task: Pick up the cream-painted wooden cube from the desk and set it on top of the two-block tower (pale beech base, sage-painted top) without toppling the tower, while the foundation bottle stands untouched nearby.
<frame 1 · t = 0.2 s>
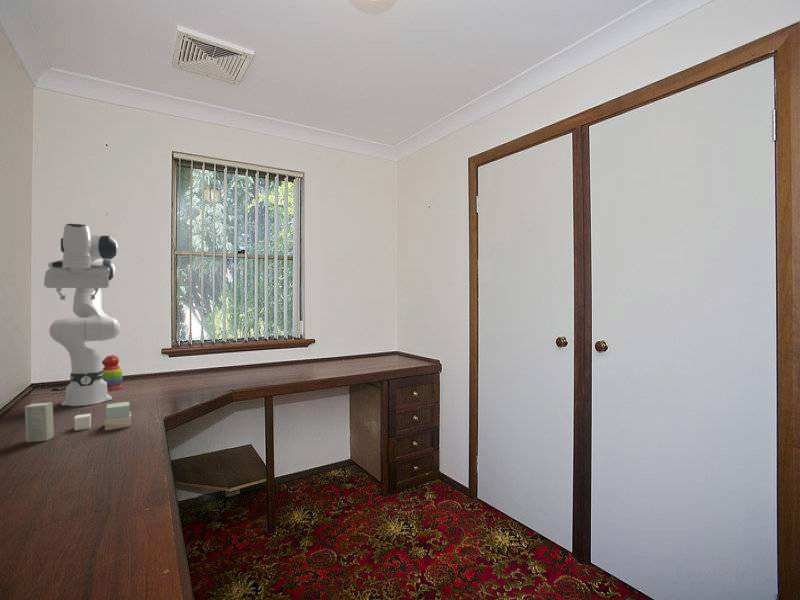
hand: (78, 299, 164), 47 cm above the table, fingers open, 8 cm apart
tower top: (118, 415, 157), point 4 cm above the table
skincare box: (40, 440, 142), on the table
cream block: (82, 428, 154), on the table
tower base: (118, 426, 157), on the table
stacking bear: (111, 389, 219), on the table
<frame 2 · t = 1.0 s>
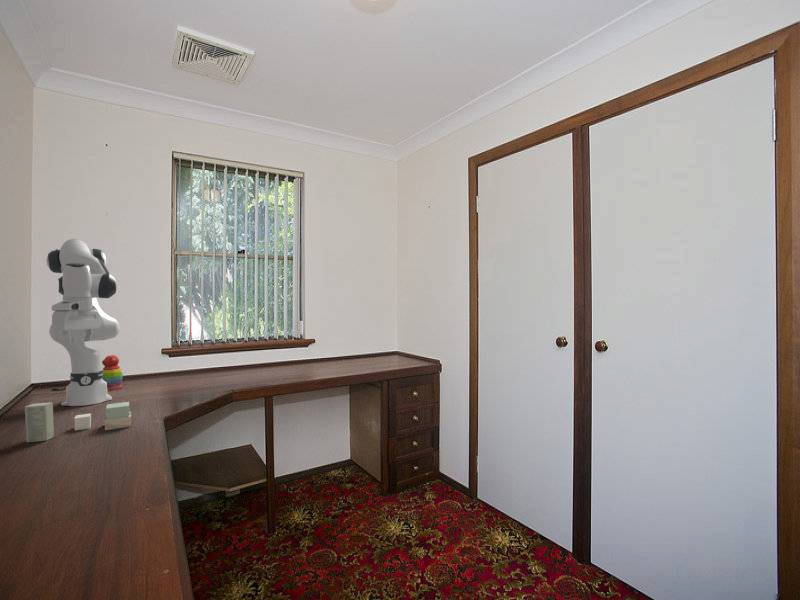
hand: (78, 342, 158), 31 cm above the table, fingers open, 8 cm apart
nothing on the table moved.
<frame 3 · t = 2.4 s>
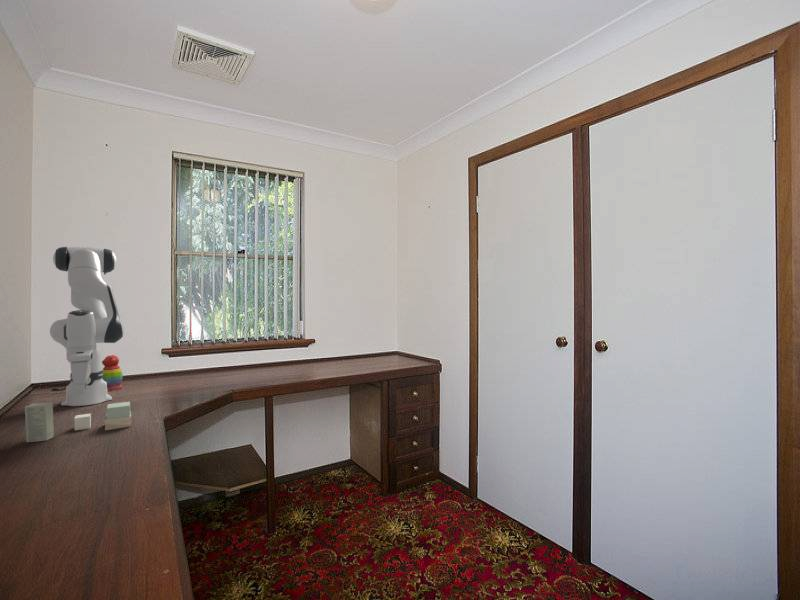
hand: (82, 391, 154), 13 cm above the table, fingers open, 8 cm apart
tower top: (118, 415, 157), point 4 cm above the table, touching tower base
tower base: (118, 426, 157), on the table, touching tower top
everything else where it was.
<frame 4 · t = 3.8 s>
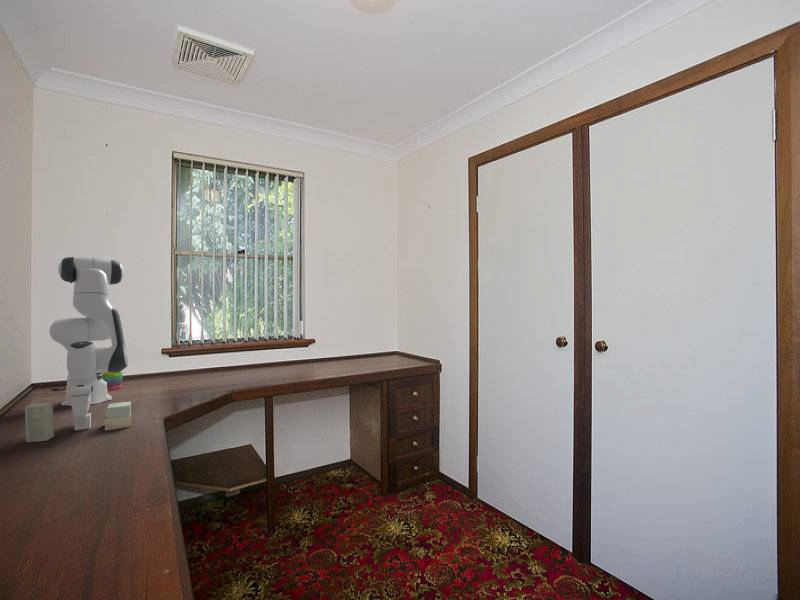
hand: (82, 423, 154), 2 cm above the table, fingers closed on cream block, 4 cm apart
cream block: (82, 427, 154), on the table, touching gripper
everything else where it was.
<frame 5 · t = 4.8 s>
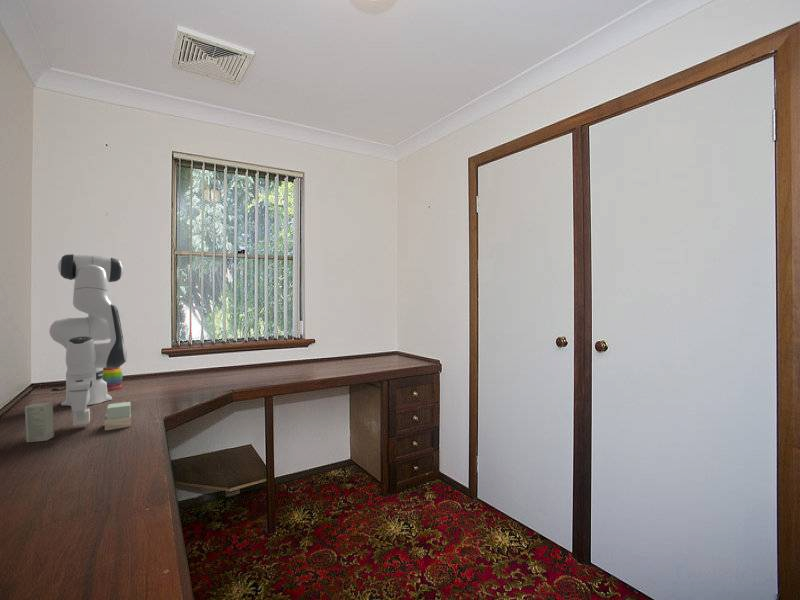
hand: (81, 418, 154), 3 cm above the table, fingers closed on cream block, 4 cm apart
cream block: (81, 422, 154), point 2 cm above the table, touching gripper
everything else where it was.
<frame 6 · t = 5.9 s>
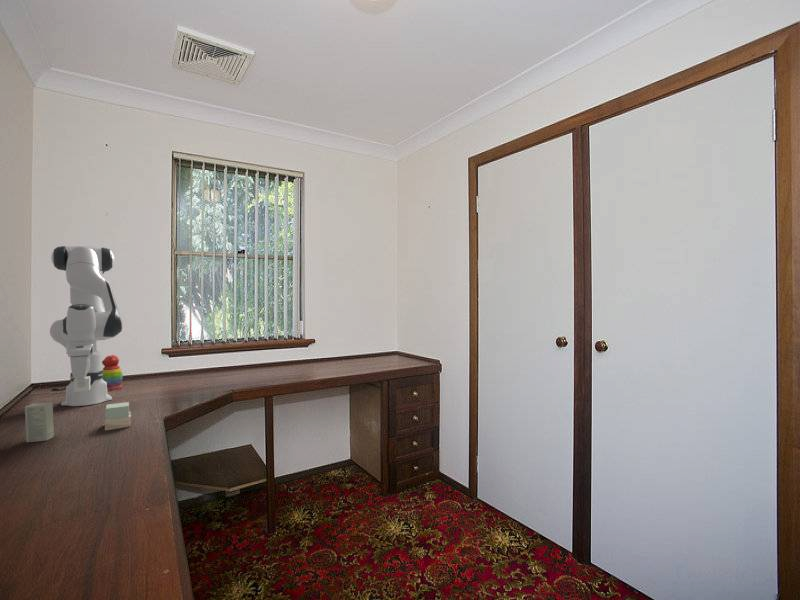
hand: (82, 385, 154), 16 cm above the table, fingers closed on cream block, 4 cm apart
cream block: (82, 390, 154), point 14 cm above the table, touching gripper
everything else where it was.
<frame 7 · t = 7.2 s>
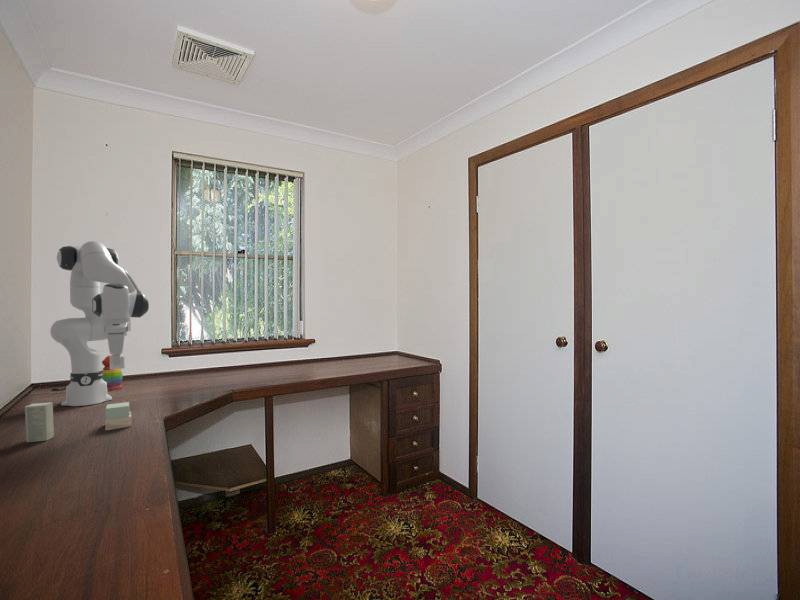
hand: (117, 363, 157), 23 cm above the table, fingers closed on cream block, 4 cm apart
tower top: (118, 415, 156), point 4 cm above the table
cream block: (117, 368, 157), point 22 cm above the table, touching gripper
tower base: (118, 426, 157), on the table
everything else where it was.
when the fingers open (11 cm above the table, at t = 9.9 s): cream block drops 1 cm, point 8 cm above the table.
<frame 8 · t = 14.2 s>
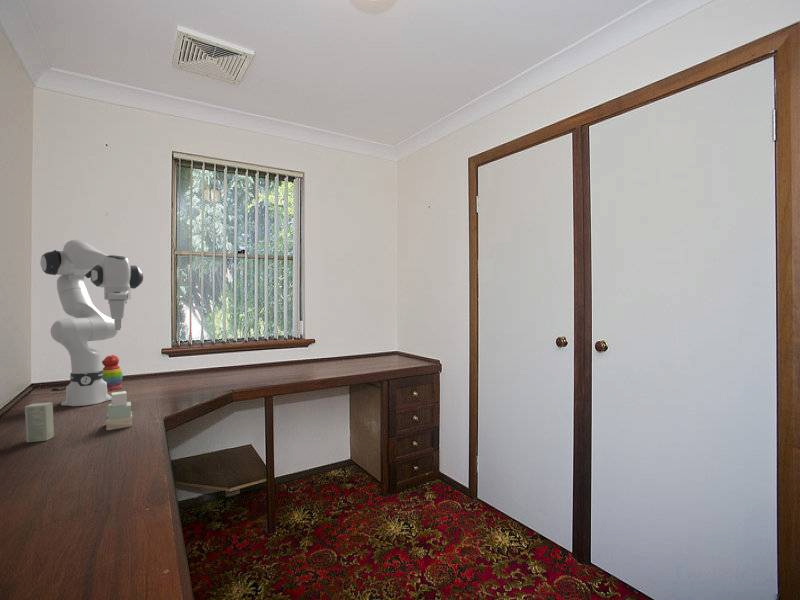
hand: (118, 329, 169), 35 cm above the table, fingers open, 8 cm apart
tower top: (119, 415, 157), point 4 cm above the table, touching tower base
cream block: (119, 404, 157), point 8 cm above the table
tower base: (119, 426, 157), on the table, touching tower top
everything else where it was.
at the end: cream block 0.1 cm off-centre on the tower top, point 4.0 cm above the tower top's base; tower top tilted 0°; cream block tilted 0° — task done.
